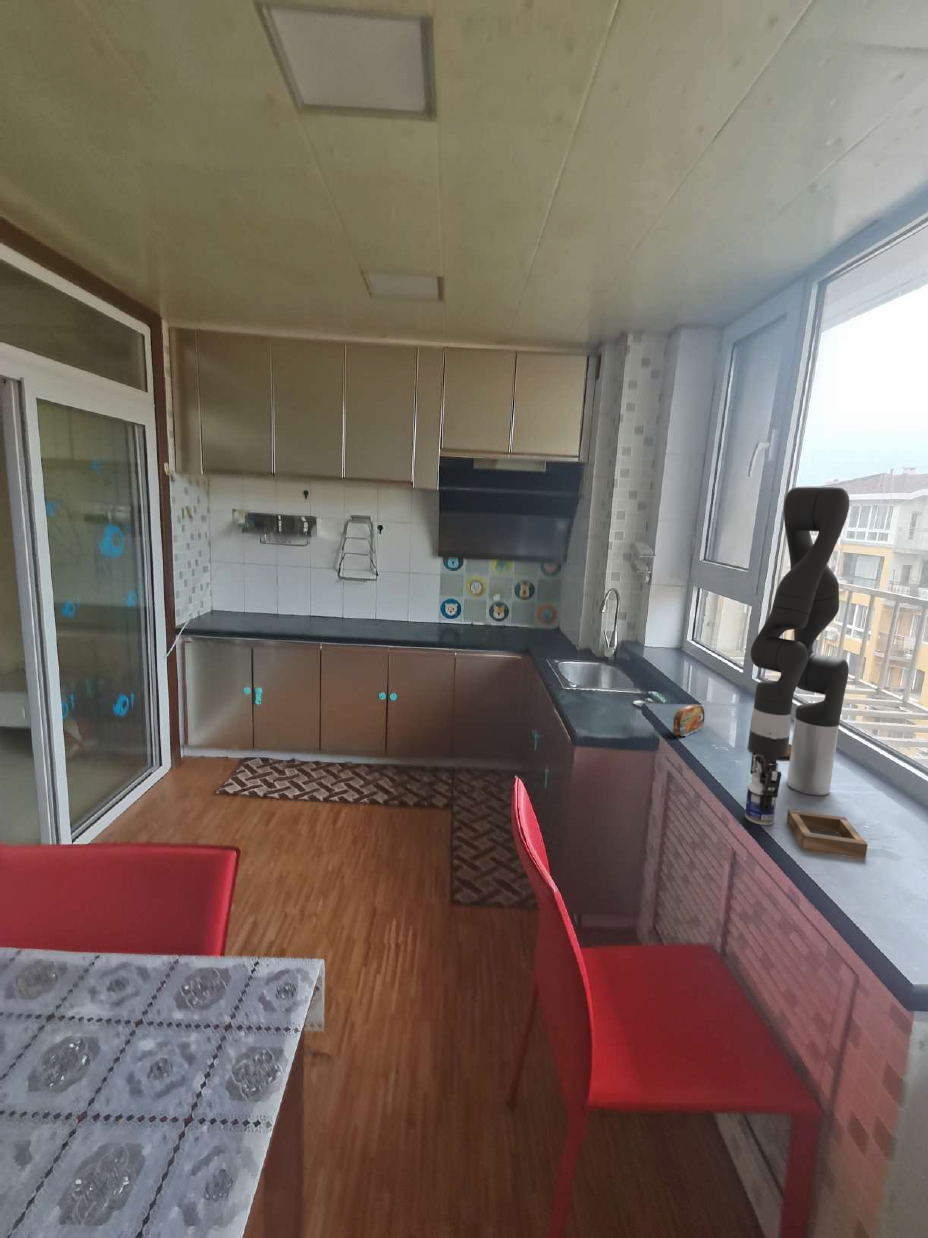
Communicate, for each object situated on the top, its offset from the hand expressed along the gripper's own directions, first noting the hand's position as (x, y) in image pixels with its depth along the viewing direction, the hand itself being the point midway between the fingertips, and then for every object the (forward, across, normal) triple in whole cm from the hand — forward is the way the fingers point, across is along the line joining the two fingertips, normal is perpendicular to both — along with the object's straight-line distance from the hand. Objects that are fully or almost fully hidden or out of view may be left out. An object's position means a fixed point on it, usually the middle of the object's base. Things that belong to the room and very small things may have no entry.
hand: (760, 804), depth 128 cm
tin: (+4, -53, -8) cm, 54 cm away
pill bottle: (+4, 0, 0) cm, 4 cm away
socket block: (+4, +6, +11) cm, 13 cm away
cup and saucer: (+4, -44, +14) cm, 46 cm away
